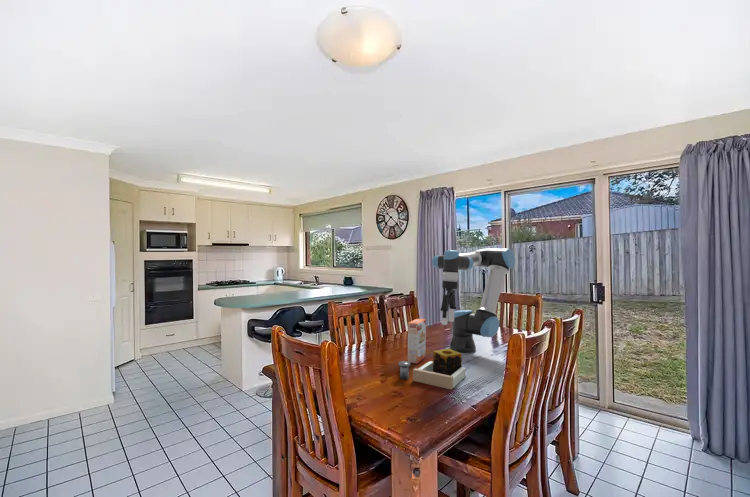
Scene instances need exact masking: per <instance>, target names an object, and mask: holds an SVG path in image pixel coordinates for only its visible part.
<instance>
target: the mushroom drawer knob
mask: <svg viewBox="0 0 750 497" xmlns="http://www.w3.org/2000/svg"><path fill="white" fill-rule="evenodd" d="M411 364H412V363H410V362H408V360H407V361H406V360H401V361H398V366H399V371H400V372H399V377H400V379H401V380H408V379H409V378H410V367H411Z"/></svg>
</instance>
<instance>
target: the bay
mask: <svg viewBox="0 0 750 497" xmlns="http://www.w3.org/2000/svg"><path fill="white" fill-rule="evenodd" d="M412 378H413V379H412V381H413V382H417V383H422V384H427V385H430V386H433V387H438V388H442V389H448V390H452V389H454V388H456V386H457V385H458V384H459V383H460V382H462V381H463V380H464V379H465V378H466V367H463V366H462V367H461V368H460V369H458V370H457V371H456V372H455V373H454V374H452V375H451V376H449V375H445V374H440V373H435V372H434V371H433V360H430V361H428V362H426V363H425V364H423V365H421V366H420V367H418V368H413V370H412Z"/></svg>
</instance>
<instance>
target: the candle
mask: <svg viewBox="0 0 750 497" xmlns="http://www.w3.org/2000/svg"><path fill="white" fill-rule="evenodd" d="M432 353H433V357H432V359H433V360H432V362H433V371H432V372H435V373H440V374H445V375H449V376H451V375H452V374H454V373H455V372H456V371H457V370H458V369H460V368H461V367H463V364H462V358H463V357H462V356H463V355H462V353H460V352H456V351H454V350H451V349H450V348H443V349H439V350H433V351H432Z"/></svg>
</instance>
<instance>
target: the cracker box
mask: <svg viewBox="0 0 750 497" xmlns="http://www.w3.org/2000/svg"><path fill="white" fill-rule="evenodd" d="M426 337H427V319H425V318H415V319H413V320H411V321H409V322H408V323H407V361H408V362H410V363H411V364H418V363H420V362H421V361H423V359H425V357H426V352H427V350H426V348H427V346H426V343H427V342H426V341H427V340H426V339H427V338H426Z"/></svg>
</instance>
